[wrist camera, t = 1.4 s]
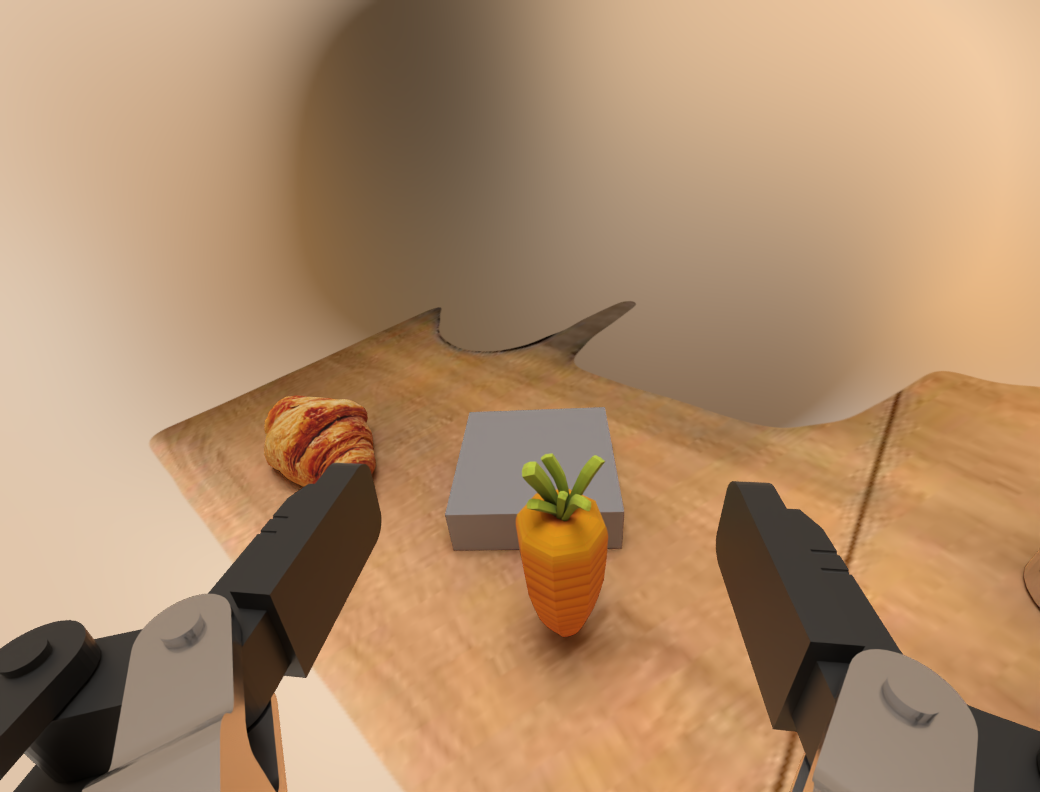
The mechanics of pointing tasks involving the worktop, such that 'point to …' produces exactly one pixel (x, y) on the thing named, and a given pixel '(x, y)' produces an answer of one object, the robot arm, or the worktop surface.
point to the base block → (498, 472)
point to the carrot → (562, 545)
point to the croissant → (316, 437)
